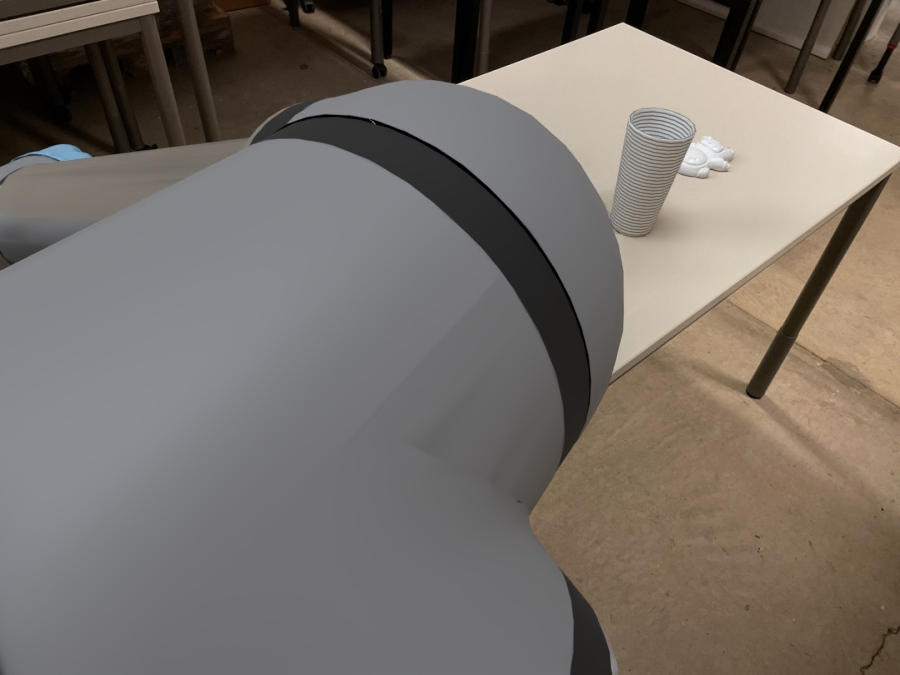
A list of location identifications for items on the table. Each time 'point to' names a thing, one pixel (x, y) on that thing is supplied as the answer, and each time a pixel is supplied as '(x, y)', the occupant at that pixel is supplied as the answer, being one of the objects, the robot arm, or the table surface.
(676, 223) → the table surface
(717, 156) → the white toy figurine
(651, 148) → the cup
